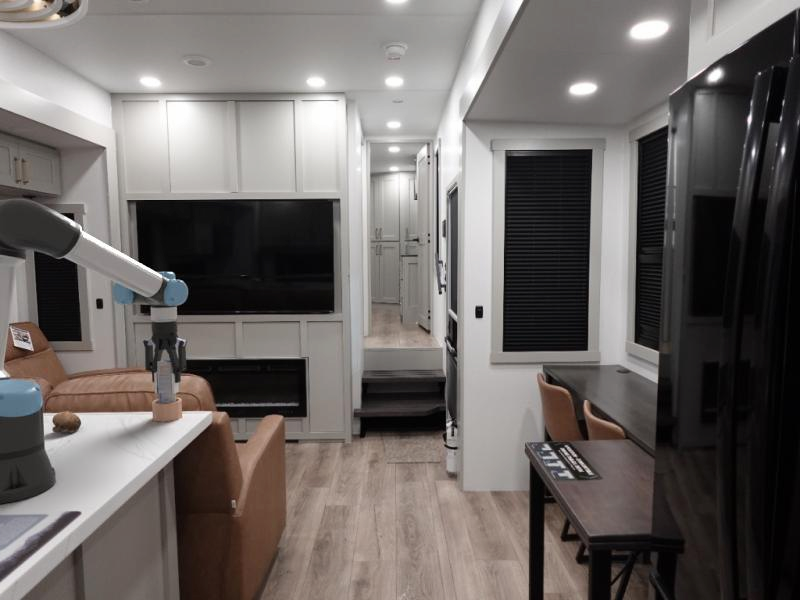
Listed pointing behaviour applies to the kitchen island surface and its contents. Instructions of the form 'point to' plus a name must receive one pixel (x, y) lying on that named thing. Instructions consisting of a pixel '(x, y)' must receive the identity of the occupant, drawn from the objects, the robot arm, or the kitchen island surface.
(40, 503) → the kitchen island surface
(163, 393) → the beverage can
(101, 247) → the robot arm
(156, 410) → the light orange hollow cylinder
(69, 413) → the mushroom
